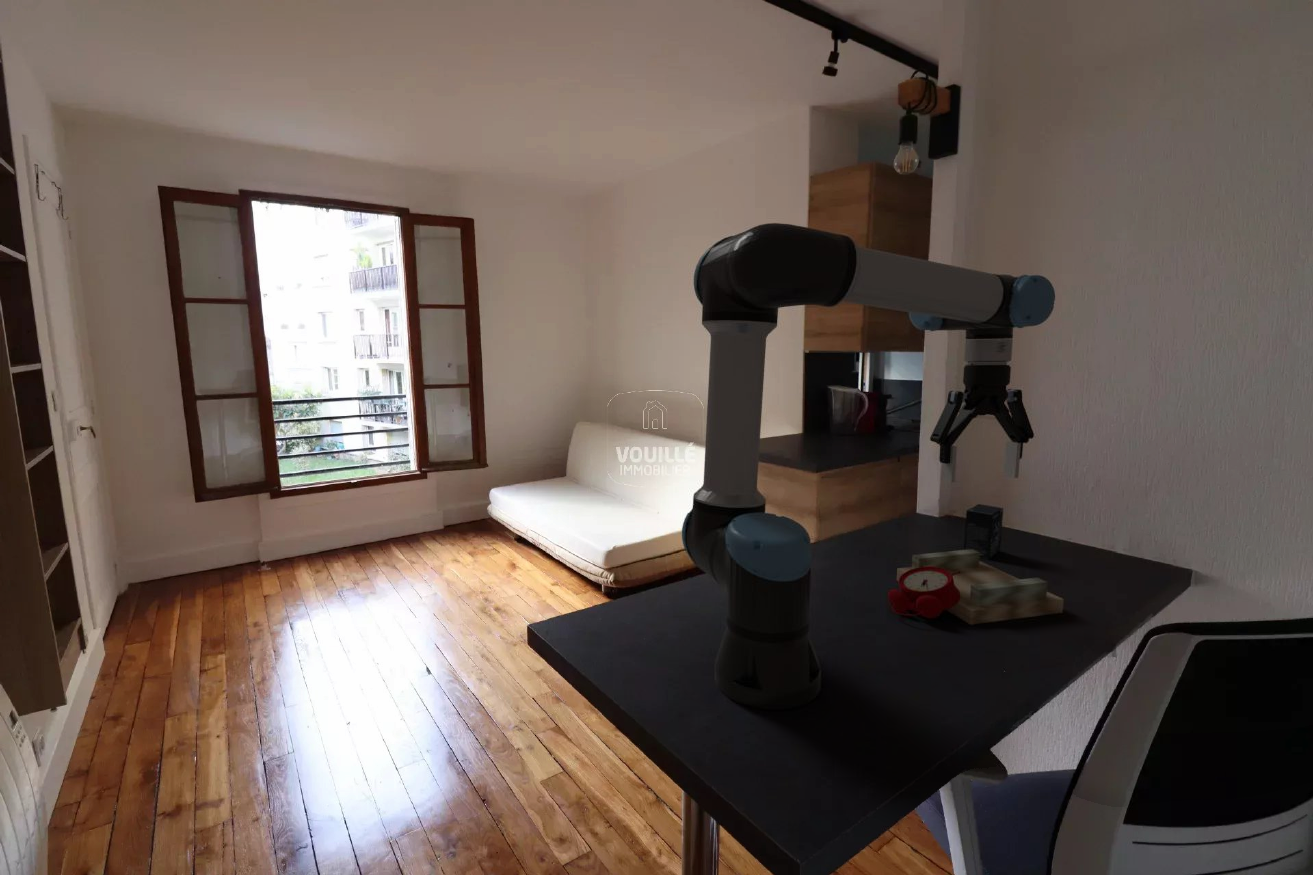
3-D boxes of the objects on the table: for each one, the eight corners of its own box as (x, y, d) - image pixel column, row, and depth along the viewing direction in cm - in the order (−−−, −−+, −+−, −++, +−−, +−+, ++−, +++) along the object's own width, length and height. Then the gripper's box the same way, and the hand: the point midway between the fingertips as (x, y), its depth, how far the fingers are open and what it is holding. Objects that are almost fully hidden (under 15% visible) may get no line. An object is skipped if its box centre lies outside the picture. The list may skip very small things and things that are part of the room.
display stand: (970, 624, 105) (972, 594, 104) (896, 580, 125) (897, 554, 124) (1062, 612, 109) (1065, 582, 108) (976, 571, 129) (978, 546, 128)
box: (989, 560, 136) (992, 514, 134) (962, 554, 140) (965, 509, 138) (1001, 551, 141) (1004, 507, 140) (974, 546, 145) (977, 503, 144)
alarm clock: (969, 568, 111) (930, 591, 101) (971, 602, 111) (933, 627, 101) (913, 561, 119) (872, 581, 109) (916, 592, 119) (876, 615, 109)
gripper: (940, 365, 104) (934, 487, 107) (1062, 362, 110) (1052, 478, 113) (913, 364, 111) (907, 478, 115) (1028, 362, 117) (1020, 470, 120)
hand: (979, 478), depth 114 cm, fingers open, 13 cm apart
